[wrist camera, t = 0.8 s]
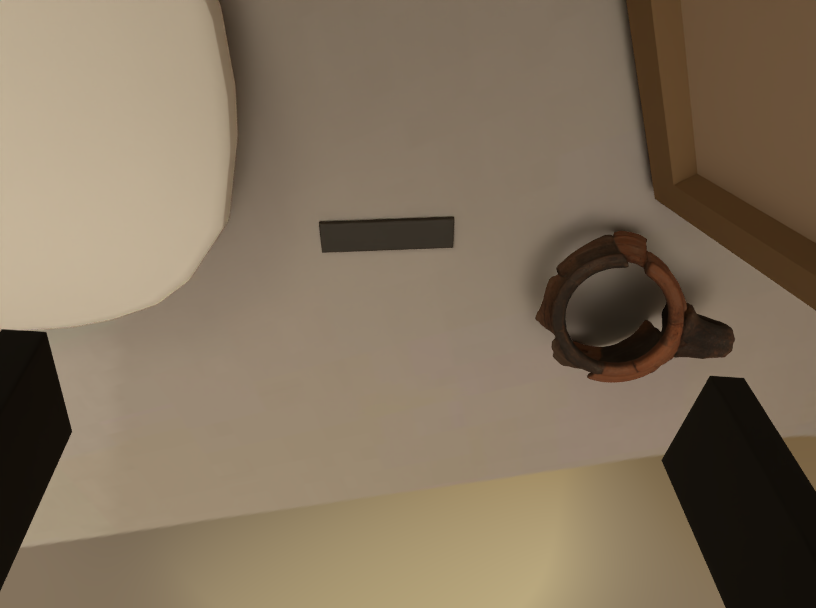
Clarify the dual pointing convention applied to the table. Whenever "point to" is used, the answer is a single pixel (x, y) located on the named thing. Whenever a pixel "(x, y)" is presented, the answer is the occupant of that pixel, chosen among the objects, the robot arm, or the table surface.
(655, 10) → the photo frame
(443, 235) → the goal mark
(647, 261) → the brown curved piece
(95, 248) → the plate
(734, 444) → the robot arm
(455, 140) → the table surface
